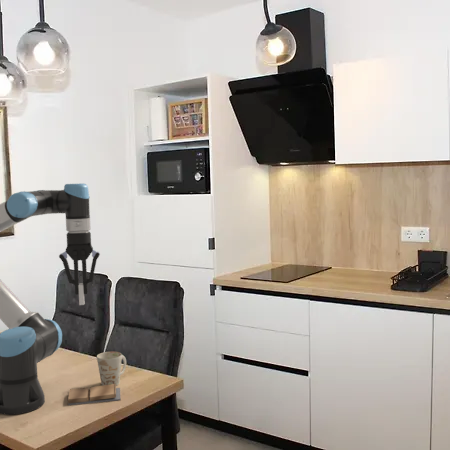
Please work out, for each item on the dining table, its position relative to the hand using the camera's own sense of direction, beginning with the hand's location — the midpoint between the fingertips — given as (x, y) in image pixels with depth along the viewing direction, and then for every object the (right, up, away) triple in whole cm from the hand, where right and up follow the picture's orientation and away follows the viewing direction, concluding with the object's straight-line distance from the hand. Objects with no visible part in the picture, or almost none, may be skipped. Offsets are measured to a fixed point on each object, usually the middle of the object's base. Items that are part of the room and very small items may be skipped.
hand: (81, 304), depth 188 cm
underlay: (+5, -30, -2) cm, 30 cm away
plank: (+7, -29, -1) cm, 30 cm away
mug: (+8, -29, +12) cm, 32 cm away
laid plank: (0, -30, -3) cm, 30 cm away
